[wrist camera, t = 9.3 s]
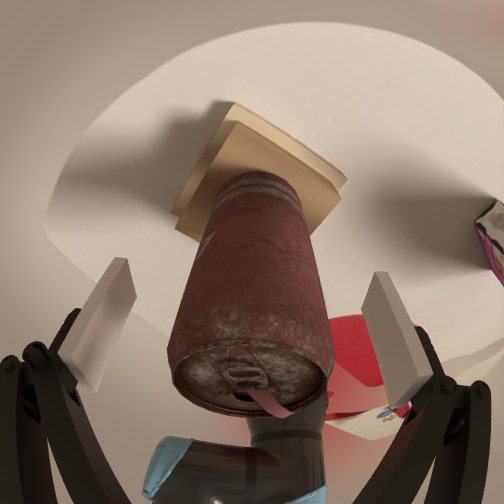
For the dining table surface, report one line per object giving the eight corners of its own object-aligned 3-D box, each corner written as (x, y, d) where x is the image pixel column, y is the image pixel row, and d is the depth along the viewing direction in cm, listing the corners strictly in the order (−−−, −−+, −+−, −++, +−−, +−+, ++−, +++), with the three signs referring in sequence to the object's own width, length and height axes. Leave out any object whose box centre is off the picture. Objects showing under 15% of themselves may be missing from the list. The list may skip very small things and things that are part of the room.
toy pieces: (372, 410, 52) (375, 426, 48) (419, 393, 49) (423, 410, 45) (376, 424, 58) (378, 438, 54) (416, 410, 55) (420, 424, 51)
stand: (272, 258, 29) (273, 292, 25) (175, 204, 26) (158, 232, 22) (343, 173, 24) (359, 196, 20) (235, 102, 21) (228, 107, 16)
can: (258, 259, 23) (252, 433, 11) (199, 207, 21) (131, 379, 9) (319, 214, 21) (370, 391, 9) (260, 150, 18) (251, 307, 7)
